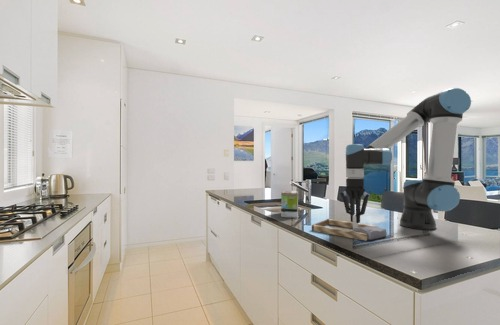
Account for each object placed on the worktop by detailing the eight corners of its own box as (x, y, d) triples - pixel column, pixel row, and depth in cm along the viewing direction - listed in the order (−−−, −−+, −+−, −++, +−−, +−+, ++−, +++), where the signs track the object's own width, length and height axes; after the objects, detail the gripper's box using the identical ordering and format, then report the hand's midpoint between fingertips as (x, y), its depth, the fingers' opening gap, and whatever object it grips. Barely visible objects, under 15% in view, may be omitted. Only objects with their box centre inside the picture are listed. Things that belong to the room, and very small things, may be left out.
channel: (378, 231, 115) (378, 226, 115) (366, 240, 102) (366, 234, 102) (328, 223, 132) (327, 218, 132) (311, 230, 118) (311, 225, 118)
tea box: (297, 218, 146) (297, 192, 146) (280, 217, 148) (280, 192, 148) (298, 213, 161) (298, 190, 161) (282, 212, 163) (282, 190, 163)
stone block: (351, 239, 110) (371, 240, 101) (349, 228, 111) (369, 228, 102) (368, 236, 116) (389, 237, 107) (367, 225, 116) (387, 226, 108)
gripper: (337, 178, 115) (338, 228, 115) (367, 178, 107) (367, 233, 107) (343, 177, 121) (344, 225, 121) (372, 178, 112) (373, 230, 112)
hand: (355, 229), depth 114 cm, fingers closed
